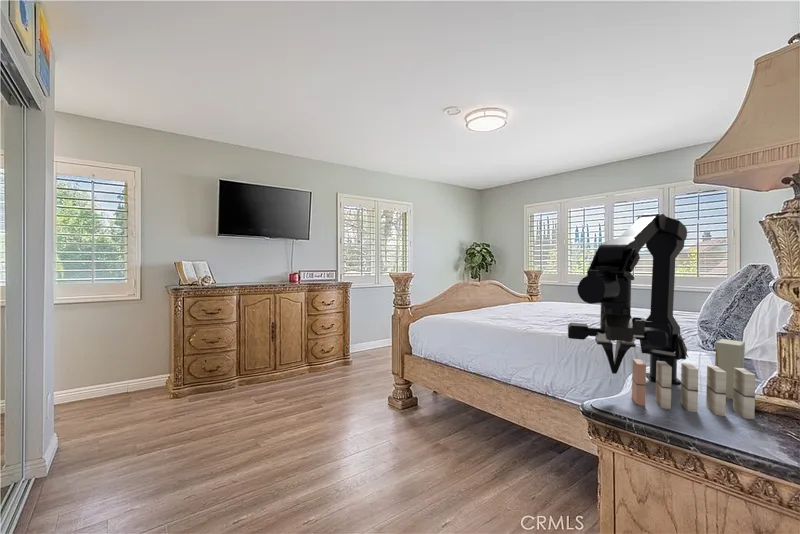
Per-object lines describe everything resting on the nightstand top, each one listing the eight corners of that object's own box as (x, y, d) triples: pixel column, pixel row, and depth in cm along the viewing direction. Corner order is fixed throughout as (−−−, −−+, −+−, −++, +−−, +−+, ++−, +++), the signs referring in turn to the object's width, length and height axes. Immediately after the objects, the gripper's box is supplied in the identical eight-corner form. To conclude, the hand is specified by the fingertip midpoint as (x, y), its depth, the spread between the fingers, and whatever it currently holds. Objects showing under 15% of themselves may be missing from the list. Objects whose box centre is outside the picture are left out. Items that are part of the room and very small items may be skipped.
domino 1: (631, 397, 88) (632, 358, 88) (640, 398, 87) (641, 359, 87) (636, 404, 83) (637, 364, 83) (645, 405, 83) (646, 364, 82)
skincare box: (719, 390, 94) (720, 338, 94) (744, 395, 91) (745, 341, 90) (713, 395, 90) (714, 341, 90) (739, 401, 86) (740, 344, 86)
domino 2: (680, 403, 85) (681, 362, 85) (689, 404, 84) (690, 363, 84) (687, 411, 80) (688, 368, 80) (697, 412, 79) (698, 369, 79)
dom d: (706, 406, 83) (707, 365, 83) (715, 407, 82) (716, 366, 82) (715, 414, 78) (716, 371, 78) (725, 415, 78) (726, 372, 78)
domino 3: (732, 409, 81) (733, 367, 81) (742, 410, 81) (743, 368, 81) (743, 418, 77) (744, 373, 77) (754, 419, 76) (755, 374, 76)
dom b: (655, 400, 86) (656, 360, 86) (664, 401, 86) (665, 361, 86) (661, 407, 82) (662, 366, 81) (670, 409, 81) (671, 367, 81)
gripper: (569, 302, 83) (568, 378, 83) (677, 307, 76) (675, 389, 76) (568, 298, 93) (567, 365, 93) (662, 302, 86) (660, 374, 86)
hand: (614, 373), depth 87 cm, fingers closed
